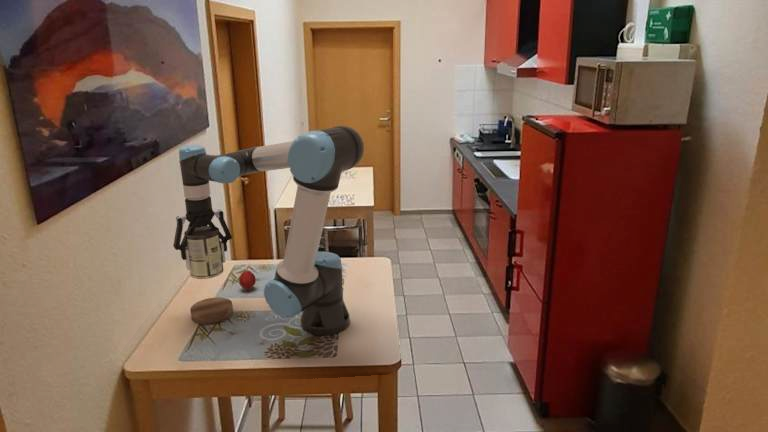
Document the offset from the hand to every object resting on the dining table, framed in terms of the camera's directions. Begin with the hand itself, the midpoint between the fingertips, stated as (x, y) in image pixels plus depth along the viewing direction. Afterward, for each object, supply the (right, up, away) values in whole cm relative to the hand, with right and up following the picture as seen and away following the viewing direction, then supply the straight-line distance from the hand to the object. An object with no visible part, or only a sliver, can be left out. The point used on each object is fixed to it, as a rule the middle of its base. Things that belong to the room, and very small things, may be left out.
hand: (206, 264), depth 168 cm
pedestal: (0, -17, +5) cm, 18 cm away
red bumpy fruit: (+7, -11, +23) cm, 27 cm away
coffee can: (0, -3, +1) cm, 3 cm away
